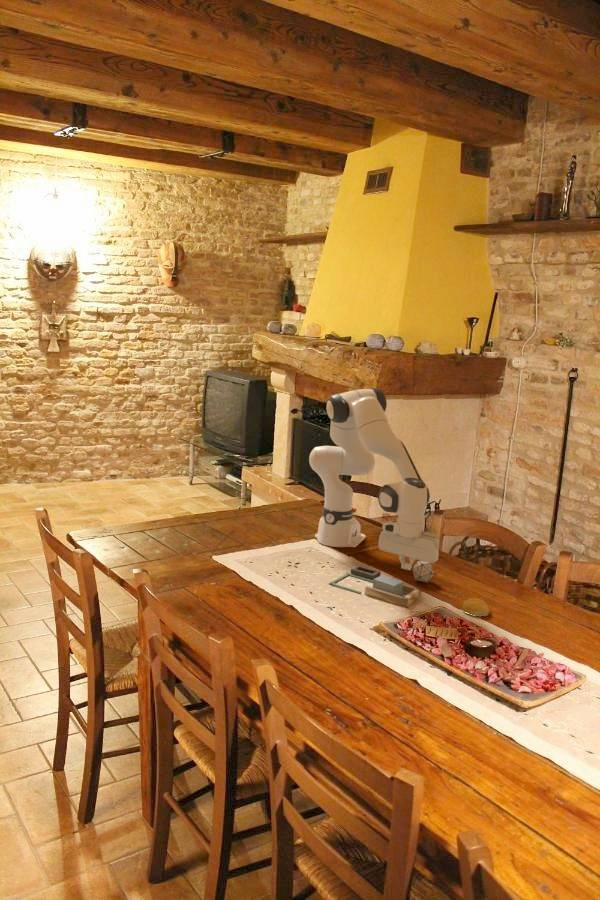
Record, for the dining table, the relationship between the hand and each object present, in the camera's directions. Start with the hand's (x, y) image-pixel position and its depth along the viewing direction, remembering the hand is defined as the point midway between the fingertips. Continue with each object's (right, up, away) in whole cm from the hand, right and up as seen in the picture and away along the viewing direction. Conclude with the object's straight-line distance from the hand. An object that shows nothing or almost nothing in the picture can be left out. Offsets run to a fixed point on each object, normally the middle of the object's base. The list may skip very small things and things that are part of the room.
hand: (406, 569), depth 241 cm
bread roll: (+22, -13, -4) cm, 26 cm away
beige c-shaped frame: (-4, -10, +5) cm, 11 cm away
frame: (-16, -7, +12) cm, 22 cm away
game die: (+8, -8, +19) cm, 22 cm away
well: (-12, -6, +21) cm, 24 cm away
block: (-6, -9, +6) cm, 12 cm away
